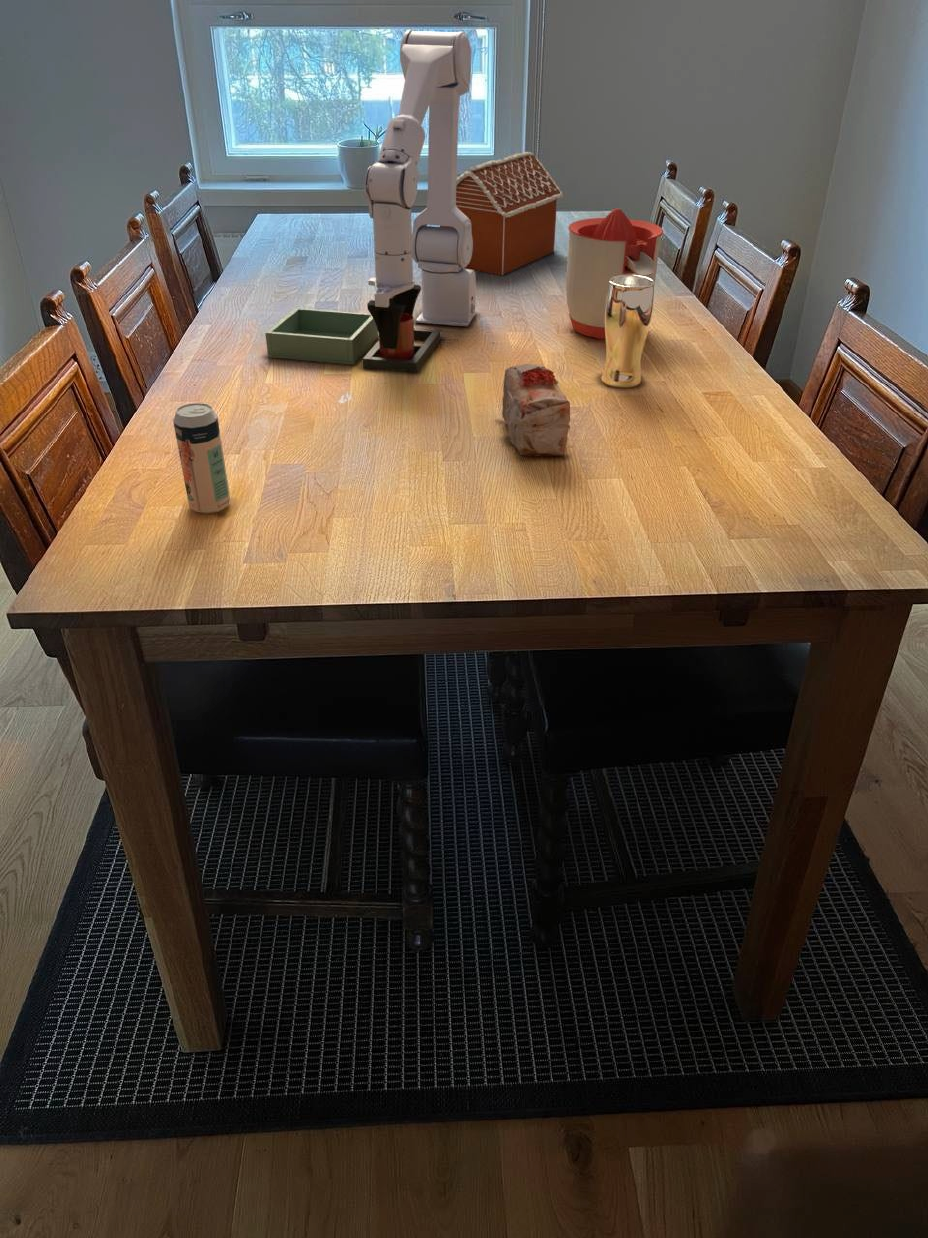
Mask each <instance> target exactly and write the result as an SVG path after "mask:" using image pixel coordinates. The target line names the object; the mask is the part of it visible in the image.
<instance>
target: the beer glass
mask: <svg viewBox="0 0 928 1238" xmlns="http://www.w3.org/2000/svg"><path fill="white" fill-rule="evenodd" d="M654 283H655V284H656V281H655V282H654V280H652V279H650V278H648V277H644V276H639V275H619V276H614V277H612V278H610V279H609V286H608V292H607V298H606V305H605V317H604V318H605V338H606V339H605V351H606V352H605V363H604V367H603V370H602V373H601V377H600V379H601V381H602V382H603V384H604V385H607V386H610V387H615V388H633V387H637V386H638V385H639V384H640V383H641V382H642V370H641V361H642V354H643V350H644V347H645V344H646V340H647V337H648V334H649V330H650V328H651V327H650V326H651V323H652V318H653V317H652V316H653V312H654V311H653V310H654V301H655V300H654V298H655V297H654V296H655V285H654Z"/></svg>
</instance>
